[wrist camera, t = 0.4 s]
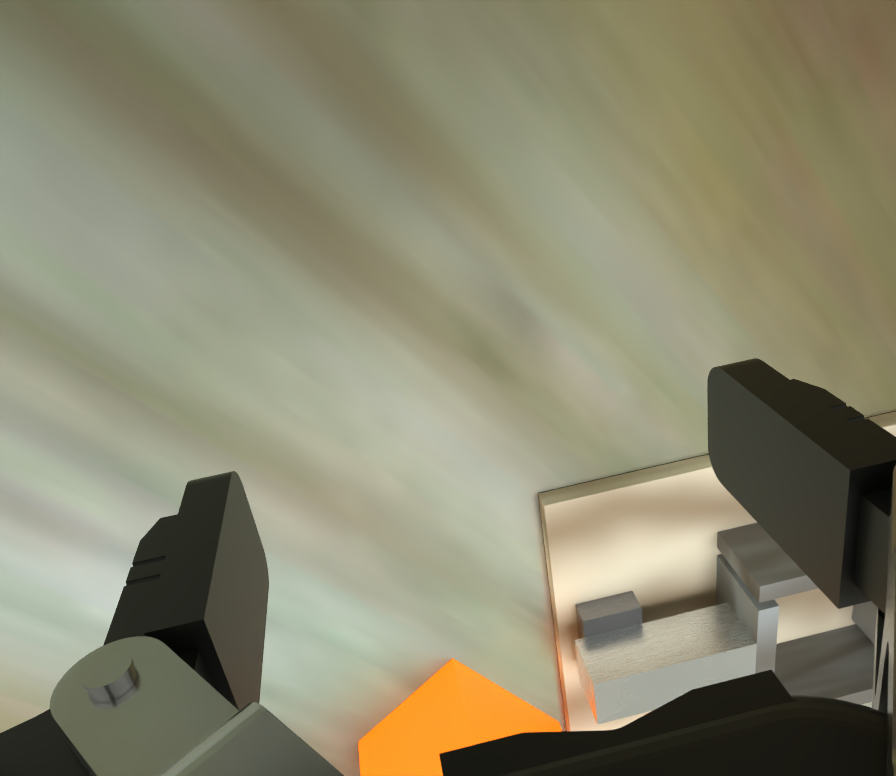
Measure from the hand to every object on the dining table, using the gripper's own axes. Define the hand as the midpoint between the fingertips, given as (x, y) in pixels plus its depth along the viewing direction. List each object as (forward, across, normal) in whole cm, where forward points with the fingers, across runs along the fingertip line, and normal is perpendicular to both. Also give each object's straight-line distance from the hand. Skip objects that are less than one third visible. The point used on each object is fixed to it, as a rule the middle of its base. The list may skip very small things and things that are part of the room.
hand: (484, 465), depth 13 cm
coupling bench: (+19, -18, +23) cm, 35 cm away
